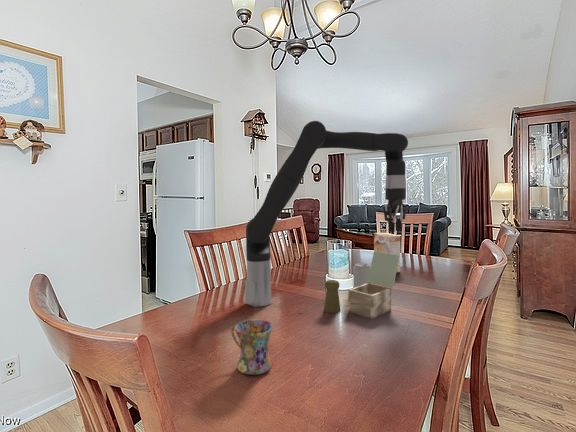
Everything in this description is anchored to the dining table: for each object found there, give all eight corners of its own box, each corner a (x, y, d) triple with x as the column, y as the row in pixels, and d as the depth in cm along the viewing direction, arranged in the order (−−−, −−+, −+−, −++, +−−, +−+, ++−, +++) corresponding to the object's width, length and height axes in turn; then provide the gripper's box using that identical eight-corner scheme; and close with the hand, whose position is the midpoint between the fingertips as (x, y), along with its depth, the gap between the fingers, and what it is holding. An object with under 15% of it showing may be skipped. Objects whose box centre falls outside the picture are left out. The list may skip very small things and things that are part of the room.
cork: (329, 306, 126) (329, 277, 126) (343, 309, 123) (343, 280, 122) (320, 310, 122) (320, 280, 121) (335, 314, 118) (334, 283, 117)
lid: (398, 255, 123) (399, 255, 123) (373, 251, 130) (374, 252, 131) (392, 287, 121) (393, 288, 121) (367, 282, 128) (368, 282, 129)
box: (372, 319, 113) (372, 295, 113) (348, 311, 121) (348, 289, 120) (391, 310, 121) (391, 288, 121) (367, 303, 129) (367, 283, 128)
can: (371, 295, 139) (371, 266, 138) (353, 294, 141) (353, 266, 140) (370, 289, 146) (371, 262, 146) (353, 289, 148) (353, 262, 147)
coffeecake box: (373, 267, 189) (373, 232, 187) (384, 266, 191) (384, 232, 190) (389, 273, 175) (389, 236, 173) (400, 272, 177) (401, 235, 175)
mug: (280, 365, 84) (280, 324, 83) (257, 383, 77) (256, 337, 76) (244, 352, 91) (243, 314, 90) (219, 368, 83) (218, 326, 82)
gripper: (396, 187, 137) (395, 229, 138) (376, 187, 127) (376, 232, 128) (413, 187, 131) (413, 230, 133) (394, 187, 122) (394, 234, 123)
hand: (395, 231), depth 130 cm, fingers open, 4 cm apart
